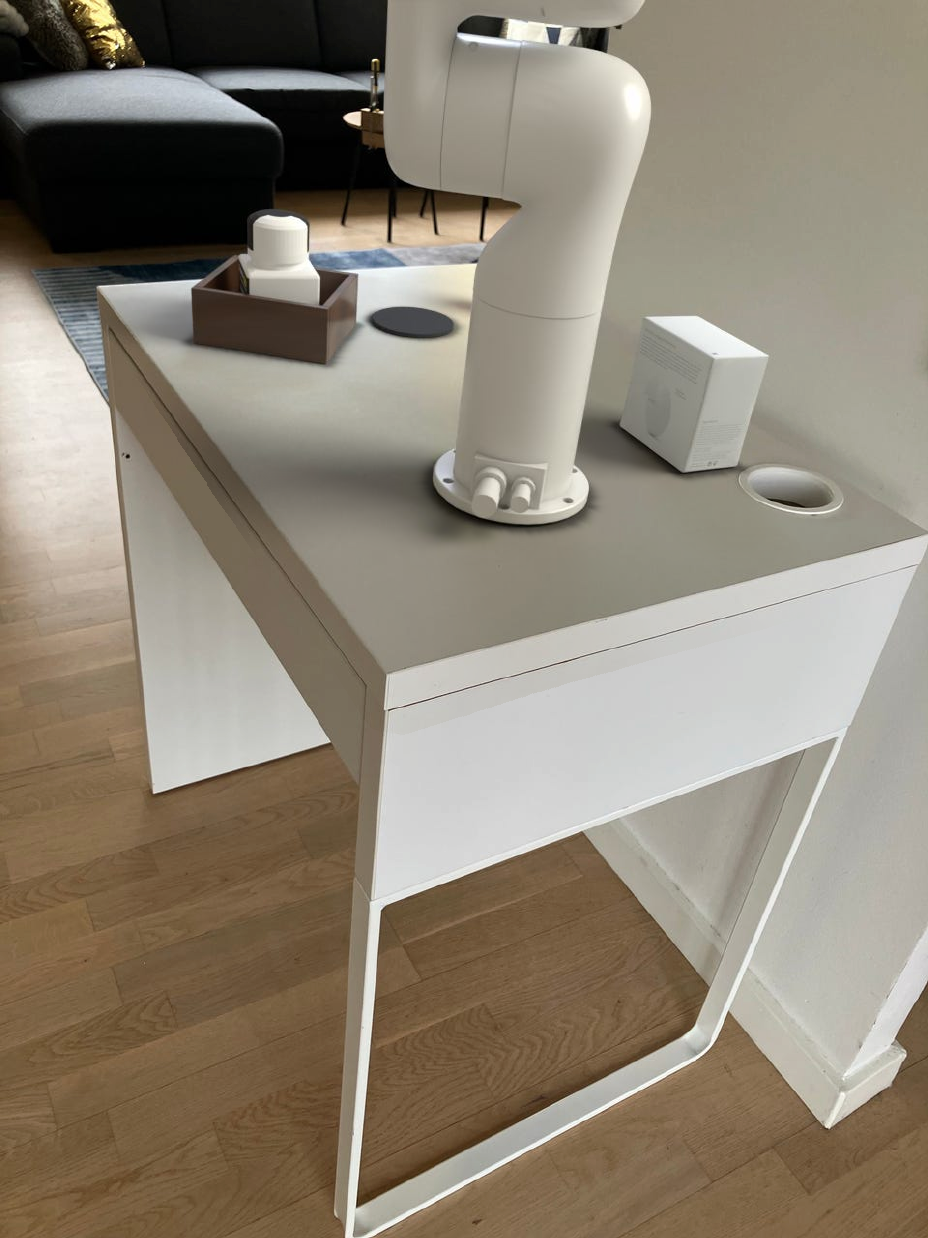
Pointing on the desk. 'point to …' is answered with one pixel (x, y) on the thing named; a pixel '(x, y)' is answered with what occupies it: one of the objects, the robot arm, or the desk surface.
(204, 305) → the desk caddy
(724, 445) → the cosmetics box
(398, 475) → the desk surface
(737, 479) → the desk surface
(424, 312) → the coaster
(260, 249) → the medicine bottle
